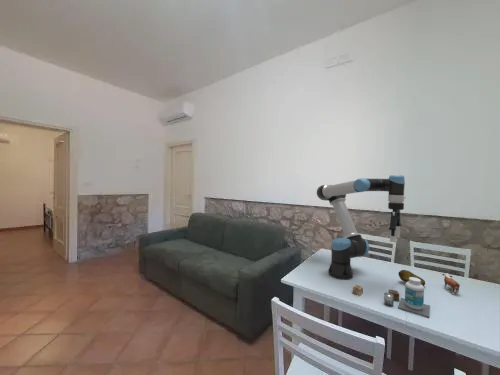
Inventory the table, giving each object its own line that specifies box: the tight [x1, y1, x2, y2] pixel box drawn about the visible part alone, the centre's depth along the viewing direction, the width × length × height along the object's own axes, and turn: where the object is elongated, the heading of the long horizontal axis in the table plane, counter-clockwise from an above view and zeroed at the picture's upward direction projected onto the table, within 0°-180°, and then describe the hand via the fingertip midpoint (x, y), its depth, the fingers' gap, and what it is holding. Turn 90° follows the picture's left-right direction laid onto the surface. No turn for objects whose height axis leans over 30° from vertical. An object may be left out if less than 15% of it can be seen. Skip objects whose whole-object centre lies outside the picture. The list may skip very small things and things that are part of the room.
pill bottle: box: [404, 277, 425, 310], centre depth 113 cm, size 8×7×14 cm
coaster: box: [397, 297, 431, 319], centre depth 113 cm, size 12×12×1 cm
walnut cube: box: [388, 289, 400, 302], centre depth 121 cm, size 4×4×4 cm
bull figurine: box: [441, 272, 460, 295], centre depth 132 cm, size 4×13×8 cm, turn 161°
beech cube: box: [351, 284, 364, 297], centre depth 127 cm, size 4×4×4 cm
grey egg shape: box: [383, 292, 395, 308], centre depth 116 cm, size 4×4×5 cm
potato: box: [397, 269, 426, 287], centre depth 139 cm, size 8×13×8 cm, turn 43°
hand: (394, 239), depth 132 cm, fingers open, 13 cm apart
